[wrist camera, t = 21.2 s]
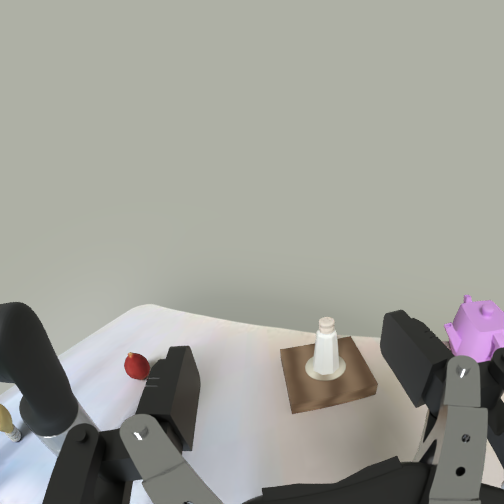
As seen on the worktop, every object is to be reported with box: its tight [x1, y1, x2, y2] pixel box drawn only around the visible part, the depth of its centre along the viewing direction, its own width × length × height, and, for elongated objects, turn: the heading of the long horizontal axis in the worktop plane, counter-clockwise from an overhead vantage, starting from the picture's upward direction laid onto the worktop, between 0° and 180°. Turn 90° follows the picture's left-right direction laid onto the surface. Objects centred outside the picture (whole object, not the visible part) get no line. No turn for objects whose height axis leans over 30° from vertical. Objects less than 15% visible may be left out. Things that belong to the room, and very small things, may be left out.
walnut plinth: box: [280, 336, 378, 414], centre depth 49 cm, size 16×16×3 cm
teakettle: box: [444, 295, 504, 363], centre depth 40 cm, size 17×17×12 cm
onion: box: [124, 352, 150, 380], centre depth 53 cm, size 6×6×8 cm
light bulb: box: [0, 404, 21, 442], centre depth 28 cm, size 6×6×10 cm
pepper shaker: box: [313, 317, 339, 375], centre depth 47 cm, size 5×5×11 cm
